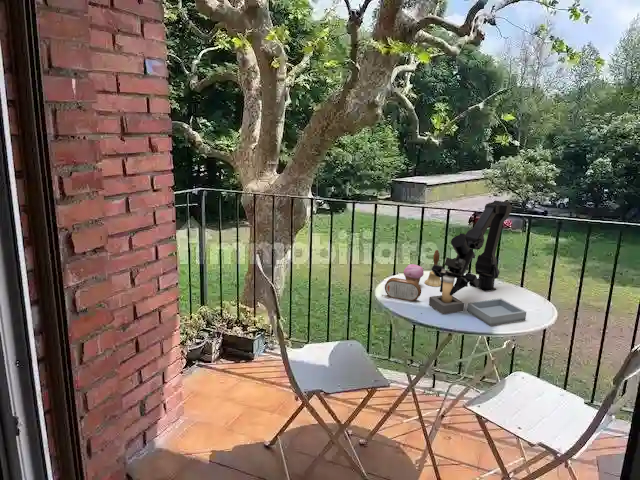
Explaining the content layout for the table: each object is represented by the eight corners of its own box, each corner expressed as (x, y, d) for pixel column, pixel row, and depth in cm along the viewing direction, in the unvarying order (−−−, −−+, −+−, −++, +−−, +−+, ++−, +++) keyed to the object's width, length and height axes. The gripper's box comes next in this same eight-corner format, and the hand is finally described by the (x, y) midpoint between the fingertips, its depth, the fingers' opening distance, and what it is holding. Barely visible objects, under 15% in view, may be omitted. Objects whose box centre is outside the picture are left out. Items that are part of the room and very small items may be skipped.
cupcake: (405, 281, 214) (407, 260, 212) (424, 284, 211) (426, 263, 208) (400, 287, 206) (401, 266, 204) (419, 290, 203) (421, 269, 200)
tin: (420, 300, 192) (422, 281, 190) (419, 303, 189) (420, 283, 187) (385, 294, 198) (386, 275, 196) (383, 297, 195) (384, 278, 193)
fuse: (447, 305, 187) (450, 274, 184) (453, 309, 183) (457, 278, 180) (438, 306, 186) (440, 275, 183) (444, 310, 182) (447, 279, 179)
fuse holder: (449, 302, 191) (450, 294, 190) (463, 311, 182) (464, 303, 181) (428, 304, 188) (429, 296, 187) (442, 314, 179) (443, 305, 178)
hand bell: (446, 283, 213) (449, 249, 209) (438, 288, 206) (441, 253, 202) (429, 279, 218) (432, 246, 214) (421, 284, 211) (423, 250, 207)
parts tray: (499, 306, 187) (500, 298, 186) (525, 320, 175) (526, 311, 174) (466, 311, 182) (467, 302, 181) (490, 326, 169) (491, 317, 168)
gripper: (435, 245, 188) (418, 276, 183) (478, 255, 175) (461, 289, 170) (444, 259, 195) (427, 290, 191) (486, 270, 182) (469, 304, 178)
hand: (445, 293), depth 182 cm, fingers closed on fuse, 4 cm apart
